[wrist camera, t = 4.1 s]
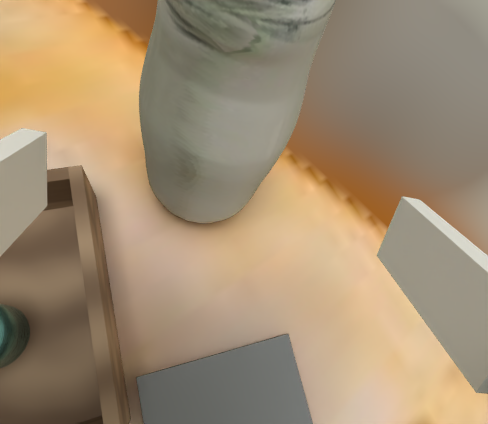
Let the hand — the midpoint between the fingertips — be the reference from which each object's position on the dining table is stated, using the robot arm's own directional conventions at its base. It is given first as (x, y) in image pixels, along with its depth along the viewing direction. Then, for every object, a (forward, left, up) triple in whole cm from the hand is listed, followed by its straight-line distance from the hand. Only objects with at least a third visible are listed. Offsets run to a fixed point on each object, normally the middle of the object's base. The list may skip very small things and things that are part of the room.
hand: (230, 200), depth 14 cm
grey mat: (+14, +1, -23) cm, 27 cm away
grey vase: (-9, +3, -23) cm, 25 cm away
